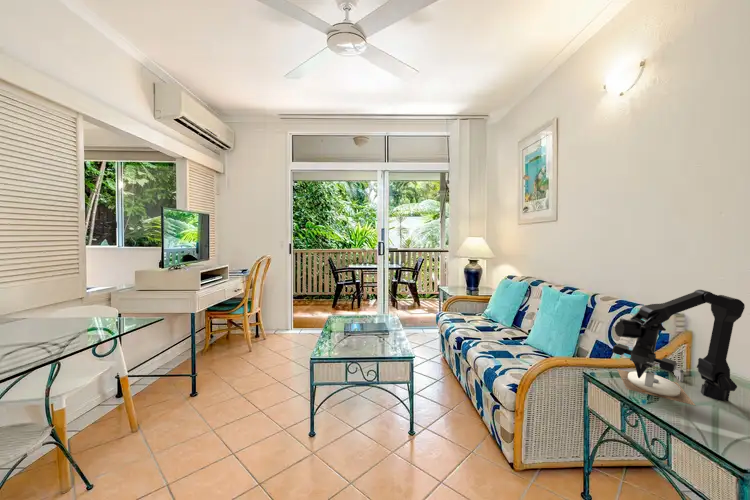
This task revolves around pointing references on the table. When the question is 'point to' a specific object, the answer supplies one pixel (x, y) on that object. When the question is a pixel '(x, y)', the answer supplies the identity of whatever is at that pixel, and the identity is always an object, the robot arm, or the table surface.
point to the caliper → (679, 374)
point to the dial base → (681, 398)
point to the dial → (654, 384)
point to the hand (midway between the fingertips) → (639, 377)
